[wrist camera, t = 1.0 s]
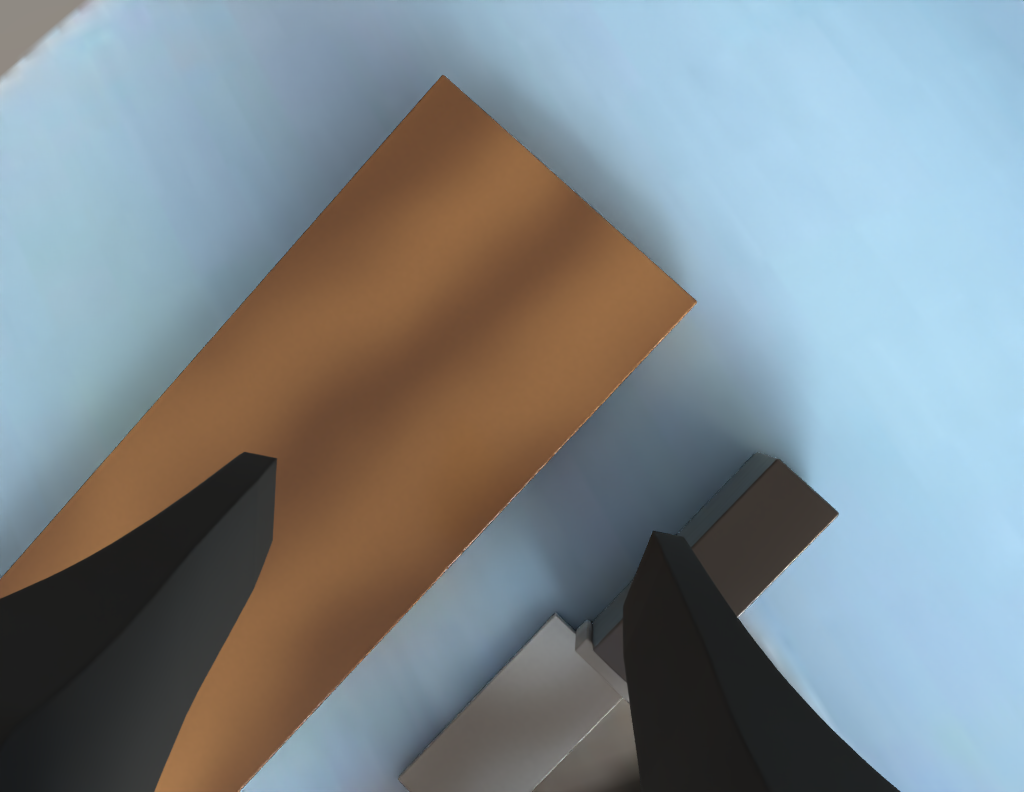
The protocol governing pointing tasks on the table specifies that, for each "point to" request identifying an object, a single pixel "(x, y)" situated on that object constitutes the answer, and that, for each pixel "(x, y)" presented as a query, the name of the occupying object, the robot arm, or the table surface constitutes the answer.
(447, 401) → the cutting board
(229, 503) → the robot arm
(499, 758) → the two-tone stepped block
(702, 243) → the table surface
